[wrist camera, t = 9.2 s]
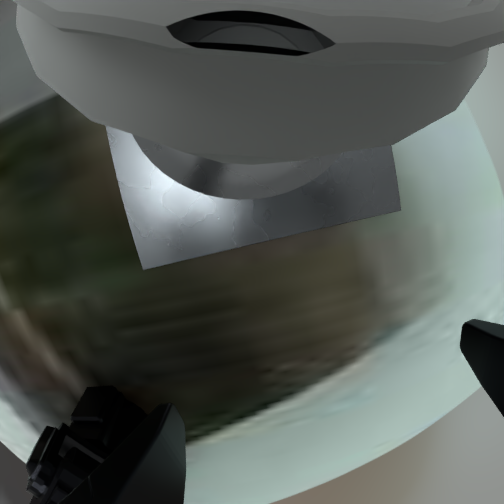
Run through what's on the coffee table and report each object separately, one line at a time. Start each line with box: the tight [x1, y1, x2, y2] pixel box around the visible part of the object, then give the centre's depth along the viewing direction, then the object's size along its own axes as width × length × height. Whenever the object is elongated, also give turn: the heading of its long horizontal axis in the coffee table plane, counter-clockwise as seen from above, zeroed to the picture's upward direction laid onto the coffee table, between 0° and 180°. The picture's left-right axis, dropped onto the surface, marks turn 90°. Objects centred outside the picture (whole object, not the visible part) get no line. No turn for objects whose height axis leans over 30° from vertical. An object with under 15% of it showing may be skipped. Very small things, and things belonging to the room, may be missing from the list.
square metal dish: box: [106, 126, 401, 270], centre depth 14 cm, size 16×15×4 cm
